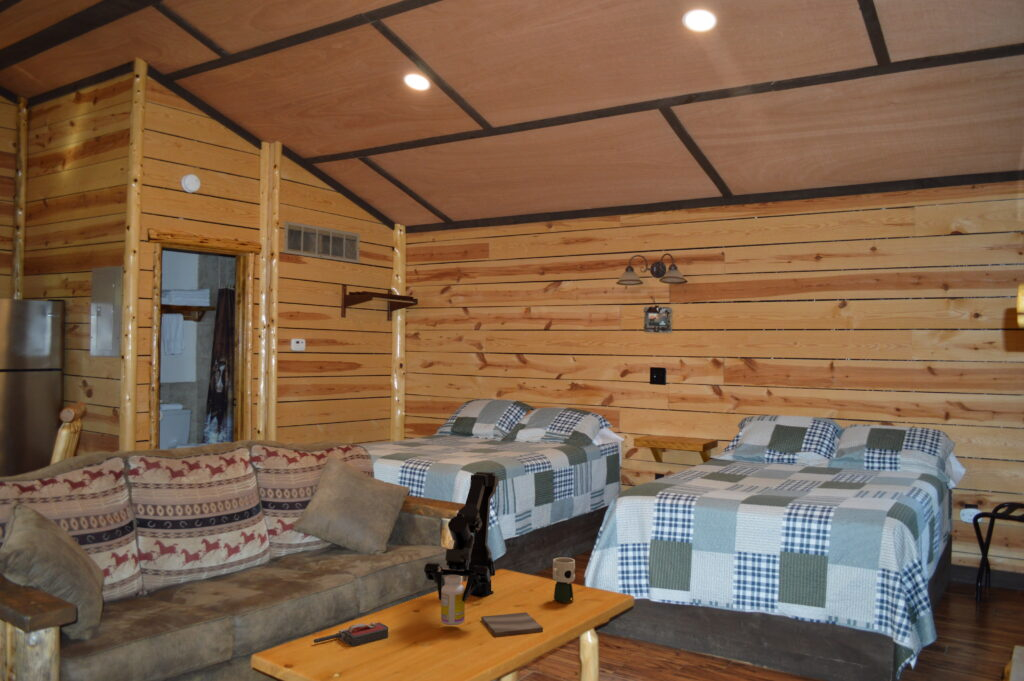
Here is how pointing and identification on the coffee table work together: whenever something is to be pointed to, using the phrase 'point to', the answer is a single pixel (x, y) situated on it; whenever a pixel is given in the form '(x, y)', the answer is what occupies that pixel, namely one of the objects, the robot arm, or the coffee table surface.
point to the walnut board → (511, 624)
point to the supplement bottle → (452, 601)
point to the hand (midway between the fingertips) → (451, 600)
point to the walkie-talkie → (359, 634)
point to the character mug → (563, 578)
